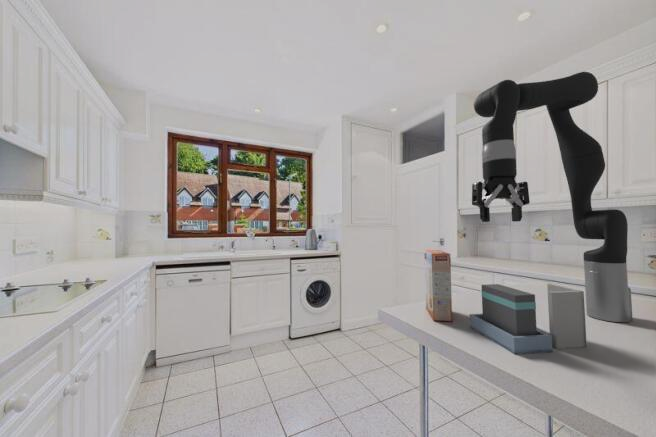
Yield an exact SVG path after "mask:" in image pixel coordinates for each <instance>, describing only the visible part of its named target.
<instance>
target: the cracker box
mask: <svg viewBox="0 0 656 437" xmlns="http://www.w3.org/2000/svg"><path fill="white" fill-rule="evenodd" d="M451 259H452V258H451V253H449V252H446V251H443V250H440V249H426V250H424V278H425V279H424V280H425V281H424V282H425V283H424V284H425V286H424V287H425V289H424V290H425V308H426V310H427V312H428V314H429V316H430V317H431V318H432V321H437V322H438V321H439V322H453V310H452V309H453V306H452V302H453V301H452V272H451V271H452V269H451V268H452V267H451V266H452V265H451V263H452V262H451Z"/></svg>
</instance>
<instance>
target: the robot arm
mask: <svg viewBox="0 0 656 437" xmlns="http://www.w3.org/2000/svg"><path fill="white" fill-rule="evenodd" d="M598 91H599V82H598V80H597V78H596V76H595V75H594V74H593V73H591V72H588V71H580V72H577V73H574V74H572V75H569V76H565V77H559V78H556V79H550V80H545V81H535V82H524V83H523V82H521V83H516V82H515V80H512V79H504V80H502V81H500V82H498V83H497V84H494V85H493V86H491V87H489V88H487V89H486V90H484V91H482V92H481V93H479V94H477V95H478V96H476V97H475V99H474V101H473V110H474V112H475V113H476V114H477V115H478V116H480V117H481V118H491V119H490V120H489V121H487V122H486V123H485V124H484V125H483V127H482V132H481V137H482V152H481V160H482V162H481V164H482V179H483V181H484V182H482V181H478V182H473V183H472V185H471V205H472V206H476V207H478V208H479V219H480V221H481V222H482V223H489V222H490V221H491V216H490V214H491V213H490V212H491V211H490V205H491V204H492V202H493V201H494V200H496V199H500V200H504V199H505V201H506V202H508V203H509V204H510V205H511V221H512V222H521V221H522V218H523V208H522V207H523V206H525V205H529V204H530V192H529V184H528V182H527V181H521V182H516V177H517V175H518V174H517V153H516V152H517V151H516V145H515V137H514V136H515V135H514V134H515V133H514V132H515V131H514V124H515V121H516V116H517V113H518V112H519V111H521V112H522V111H528V110H533V109H536V108H540V107H544V106H545V107H546V110H547V112H548V115H549V118H550V121H551V124H552V128H553V129H554V132H555V135H556V139H557V144H558V147H559V151H560V155H561V160H562V161H561V162H562V166H563V171H564V173H565V177H566V181H567V186H568V189H569V196H570V200H571V201H570V202H571V209H572V218H573V219H572V220H573V225H574V229H575V232H576V234H577V235H578V236H579V237H580V238H582V239H585V240H604V241H603V245H602V246H600V247H597V248H594V249H591V250H586V251H584V252H583V271H584V286H585V288H584V289H585V305H586V306H585V307H586V309H585V312H586V315H587V316H588V317H591V318H594V319H596V320H600V321H606V322H614V323H629V322H631V321H633V319H634V318H633V302H632V290H631V288H630V287H629V281H628V266H627V265H628V264H627V256H628V219H627V217H626V215H625V212H623V211H622V210H620V209H598V210H596V209H595V210H593V207H592V194H593V192H594V190H595V188H596V186H597V184H598V183H599V181H600V180H601V178H602V176H603V174H604V171H605V169H606V161H605V157H604V152H603V149H602V145H601V144H600V143H599V141H597V140H596V139H595V138H594V137H593V136H591V135H590V134H589V133H587V132H586V131H584V130H583V129H581V128H580V127H579V126H578V125H577V123H576V122H575V121H574V119H573V117H572V114H571V111H570V109H574V108H576V107H579V106H582V105H584V104H586V103H588V102H590V101H592V100H593V99H594V98H595V97H596V96H597V93H598ZM483 191H485V192H484V194H483Z"/></svg>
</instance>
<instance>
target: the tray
mask: <svg viewBox="0 0 656 437" xmlns="http://www.w3.org/2000/svg"><path fill="white" fill-rule="evenodd" d="M468 317H469V328H471V329H472V330H474V331H476V332H477V333H479V334H480V335H482V336H484V337H486V338H487V339H489V340H490V341H493V342H494V343H495V344H498V345H499V346H501V347H502V348H504V349H505V350H506V351H507V350H508V352H511V353H512V354H513V355H521V354H537V353H539V354H540V353H551V352H552V353H553V348H552V336H551V335H549V334H546V333H544V332H542V331H539V330H537V335H529V336H513V335H511V334H509V333H507V332H505V331H503V330H501V329H499V328H498V327H496V326H494V325H492V324H490V323H488V322H486V321H484V320H483V313H470V314H469V316H468Z"/></svg>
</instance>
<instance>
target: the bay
mask: <svg viewBox="0 0 656 437" xmlns="http://www.w3.org/2000/svg"><path fill="white" fill-rule="evenodd" d="M547 303H548V304H547V306H548V323H549V326H548V328H549V332H548V331H546V330H544V329H542V328H540V327H538V326H536V328H537V330H539V331H542V332H544V333H546V334H549V335H551V336H552V349H554V350H555V349H558V350H559V349H574V348H587V330H586V329H587V328H586V309H585V307H586V306H585V293H584V290H583V291H582V290H578V289H576V288H575V289H574V288H570V287H565V286H562V285H557V284H552V283H547Z"/></svg>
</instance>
